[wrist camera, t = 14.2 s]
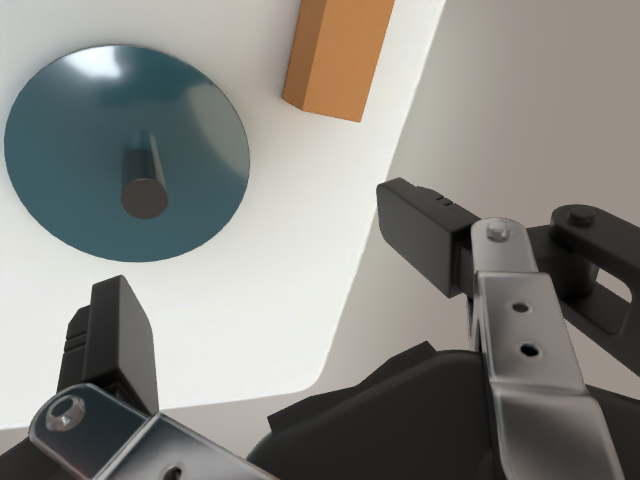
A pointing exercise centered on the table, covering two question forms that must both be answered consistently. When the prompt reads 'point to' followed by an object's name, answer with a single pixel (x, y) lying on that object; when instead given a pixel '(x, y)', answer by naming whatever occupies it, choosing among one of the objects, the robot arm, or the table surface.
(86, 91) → the lid
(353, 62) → the orange rectangular block
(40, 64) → the table surface
